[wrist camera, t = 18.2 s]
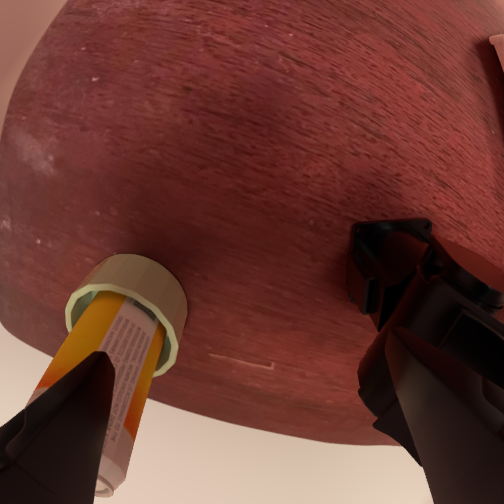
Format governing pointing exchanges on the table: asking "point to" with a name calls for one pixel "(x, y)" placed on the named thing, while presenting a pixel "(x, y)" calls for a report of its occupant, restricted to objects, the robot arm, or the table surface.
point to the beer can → (126, 367)
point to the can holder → (137, 297)
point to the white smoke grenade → (498, 47)
